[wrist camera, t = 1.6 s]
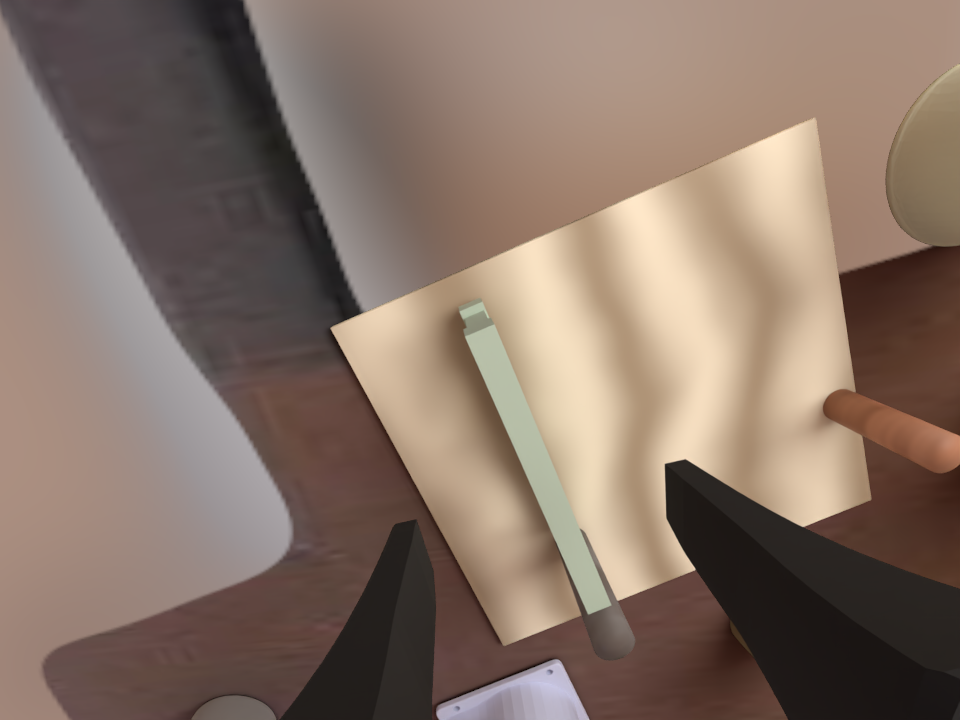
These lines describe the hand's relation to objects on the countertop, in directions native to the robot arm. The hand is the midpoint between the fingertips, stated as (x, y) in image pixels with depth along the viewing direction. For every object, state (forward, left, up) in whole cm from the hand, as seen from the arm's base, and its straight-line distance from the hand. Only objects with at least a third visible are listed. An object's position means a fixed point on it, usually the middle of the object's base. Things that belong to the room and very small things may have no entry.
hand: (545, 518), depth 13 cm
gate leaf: (0, -3, -12) cm, 12 cm away
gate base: (+6, -6, -13) cm, 15 cm away
